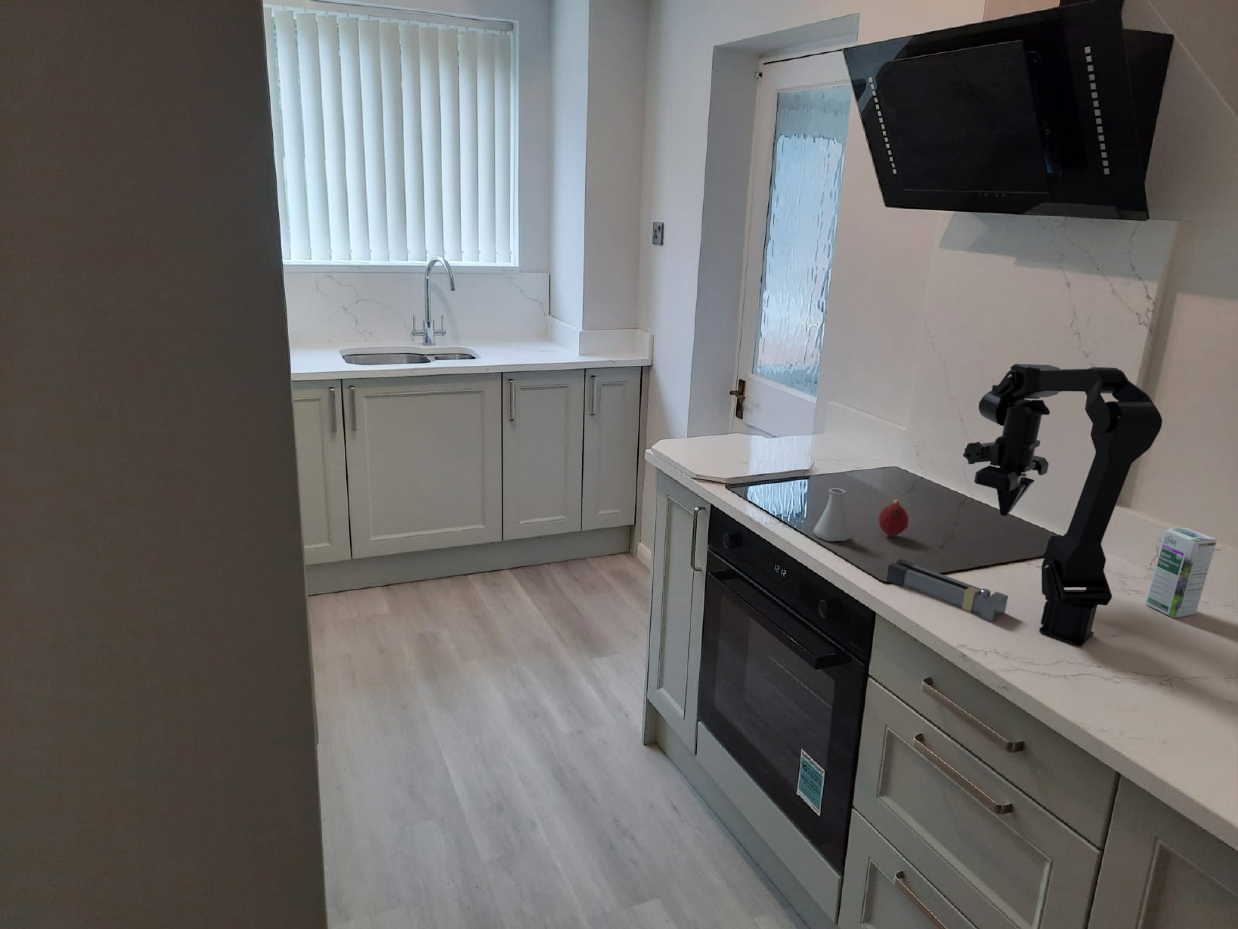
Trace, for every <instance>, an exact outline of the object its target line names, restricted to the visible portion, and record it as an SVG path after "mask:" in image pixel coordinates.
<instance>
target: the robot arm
mask: <svg viewBox="0 0 1238 929" xmlns="http://www.w3.org/2000/svg"><path fill="white" fill-rule="evenodd" d="M1062 392H1078V393H1079V392H1081V393H1083V392H1084V394H1085V395H1086V400H1085V406H1084V410H1085V412H1086V414H1087V416H1088V418H1089V420H1090V421H1091V425H1092V427H1091V430H1090V437H1091V441H1092V444H1093V447H1094V450H1095V454H1094V457H1093V460H1092V462H1091V465H1090V467H1089V471H1088V474H1087V476H1086V479H1085V482H1084V485H1083V487H1082V490H1081V493H1080V496H1079V498H1078V502H1077V504H1076V506H1075V509H1074V512H1073V515H1072V517H1071V521H1070V523H1069V526H1068V528H1067V531H1066V532H1065V533H1064V534H1063V535H1051V536H1050V538H1049V539H1048V541H1047V546H1046V549H1045V551H1044V553H1043V554H1042V558H1043V560H1042V563H1041V594H1042V595H1043V596H1045V598H1044V600H1046V601H1045V603H1044V606H1043V610H1042V616H1041V619H1040V625H1041V627H1039V630H1038V632H1040V633H1042V634H1044V635H1045V636H1049V637H1052V638H1055V639H1057V640H1061V641H1062V642H1066V643H1068V644H1070V645H1073V646H1077V647H1082V646H1083V645H1084V644H1086V642H1088V641H1089V640H1090V639H1091V638H1092V637H1093V636H1094V633H1095V632H1094V631H1093V630H1092V628H1093V626H1094V625H1093V624H1094V622H1095V617H1096V612H1097V608H1098V606H1108V605H1109V603H1110V602H1111V600H1112V599H1113V595H1112V592H1111V589H1110V585H1109V583H1108V580H1107V577H1106V574H1105V571H1104V570H1105V566H1106V562H1107V558H1106V555H1105V552H1104V549H1103V546H1102V542H1103V539H1104V537H1105V533H1106V532H1107V528H1108V527H1109V524H1110V521H1111V518H1112V515H1113V512H1114V511H1115V508H1116V505H1117V502H1118V500H1119V498H1120V495H1121V492H1122V490H1123V487H1124V485H1125V482H1126V479H1127V477H1128V474H1129V472H1130V469H1131V466H1132V464H1133V463H1134V462H1135V461H1136V460H1137V459H1139V458H1140V457H1141V456H1142V455H1143V454H1145V453H1146V452H1147V451H1149V449H1150V448H1152V446H1153V444H1154V442H1155V440H1156V439H1157V436H1158V435H1159V433H1160V431H1161V429H1162V425H1163V418H1162V417H1163V416H1162V414H1161V413H1160V411H1159V410H1158V408H1157V406H1156V405H1155V404H1154V402H1153V400H1152V398H1151V397H1150V395H1149V394H1148V393H1146V392H1145V391H1144V390H1142V389H1141V388H1139V387H1138V386H1137V385H1136V384H1135V383H1133V382H1131V381H1130V380H1129V379H1128V377H1127V376H1126V374H1125V372H1124V371H1123V370H1121V369H1119V368H1118V367H1104V366H1092V367H1090V368H1068V369H1067V368H1064V369H1060V367H1058V366H1053V365H1049V364H1029V363H1015V364H1013V365H1011V367H1010V370H1008V371H1007V373H1005V376H1004V377H1003V378H1002V379H1001V381H1000V382H999V384H993V385H992V387H991V390H990V391H988V392H986V393H985V394H984V395H983V396H982V397H981V399H980V401H979V404H978V410H979V414H980V415H981V416H982V417H983V418H984V419H986V420H989V421H991V422H992V423H995V424H997V425H999V426H1001V427H1003V430H1002V433H1001V434H1002V435H1001V436H998V437H997V438H996V439H995V441H993V442H984V443H983V442H982V443H981V442H980V441H977V442H976V441H975V442H969V443H968V444H967V445H966V447H965V448H964V449H963V450H964V453H963V454H962V456H963V458H965V459H966V460H967V464H968V465H974V464H976V463H987V462H989V465H988V466H986V467H982V468H980V469H979V470H977V471H976V472H975V473H974V474H975V475H974V481H973V483H975V484H976V485H980V486H983V487H988V488H991V489H995V490H996V493H997V494H996V495H997V499H998V500H997V501H998V507H999V515H1001V516H1004V517H1007V516H1009V514H1010V512H1012V510H1013V509H1014V508H1015V506H1016V505H1017V504H1018V502H1019V501H1020V500H1021V498H1022V497H1023V496H1024V494H1025V493H1026V492H1027V491H1028V489H1029V488H1030V487H1031V486H1032V484H1034V482H1035V479H1032V478H1029V477H1028V474H1027V472H1030V471H1031V470H1032V471H1037V474H1038V475H1039V476H1044V475H1046V474H1047V473H1048V469H1049V465H1050V464H1049V462H1048V459H1046V458H1045V457H1043V456H1038V455H1035V450H1036V448H1038V447H1040V444H1041V440H1038V436H1039V431H1040V425H1041V422H1042V416H1049V415H1050V414H1051V412H1050V409H1049V407H1048V406H1046V404H1045V401H1044V400H1043V399H1040V398H1048V397H1052V396H1053V397H1054V396H1057V395H1058V394H1059V393H1062ZM1102 394H1110V395H1111V396H1112V397H1113V399H1115V400H1113V401H1112V400H1111V401H1105V399H1104V397H1103V396H1102ZM1067 588H1069V589H1067ZM1070 588H1076V589H1070ZM1077 588H1083V589H1077Z"/></svg>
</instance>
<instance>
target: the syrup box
mask: <svg viewBox="0 0 1238 929" xmlns="http://www.w3.org/2000/svg"><path fill="white" fill-rule="evenodd" d="M1217 540H1218V538H1215V537H1211V536H1208V535H1206V534H1204V533H1202V532H1198V531H1195V530H1193V529H1191V528H1190V527H1172V528H1168V529H1165V530H1164V533H1163V537H1162V540H1161V544H1160V547H1159V552H1158V555H1157V556H1158V557H1157V559H1156V560H1157V561H1156V563H1155V566H1154V567H1155V568H1154V572H1153V576H1152V579H1151V583H1150V585H1149V590H1148V592H1147V596H1146V598H1145V599H1146V600H1145V606H1148V607H1151V608H1153V609H1155V610H1156V611H1158V612H1160V613H1162V614H1164V615H1166V616H1169V617H1170V618H1172V619H1177V618H1184V617H1188V616H1193V615H1196V613H1197V610H1198V607H1199V603H1200V599H1201V597H1202V594H1203V590H1204V586H1205V582H1206V579H1207V576H1208V573H1209V569H1210V565H1211V562H1212V558H1213V554H1214V552H1215V548H1216V546H1217V542H1218V541H1217Z"/></svg>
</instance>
